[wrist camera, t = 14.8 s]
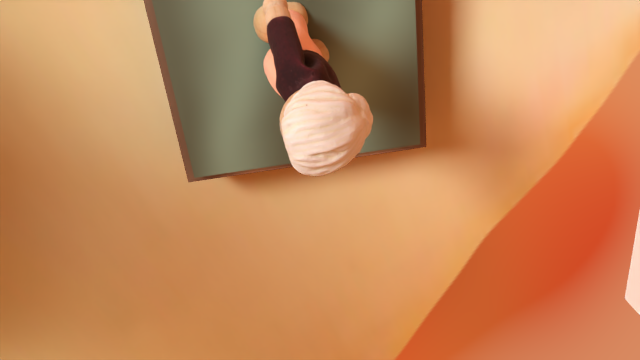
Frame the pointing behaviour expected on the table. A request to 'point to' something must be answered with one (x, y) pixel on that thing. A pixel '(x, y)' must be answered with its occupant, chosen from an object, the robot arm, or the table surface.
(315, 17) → the sage green square panel
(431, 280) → the table surface
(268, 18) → the grandmother figurine
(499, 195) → the table surface
